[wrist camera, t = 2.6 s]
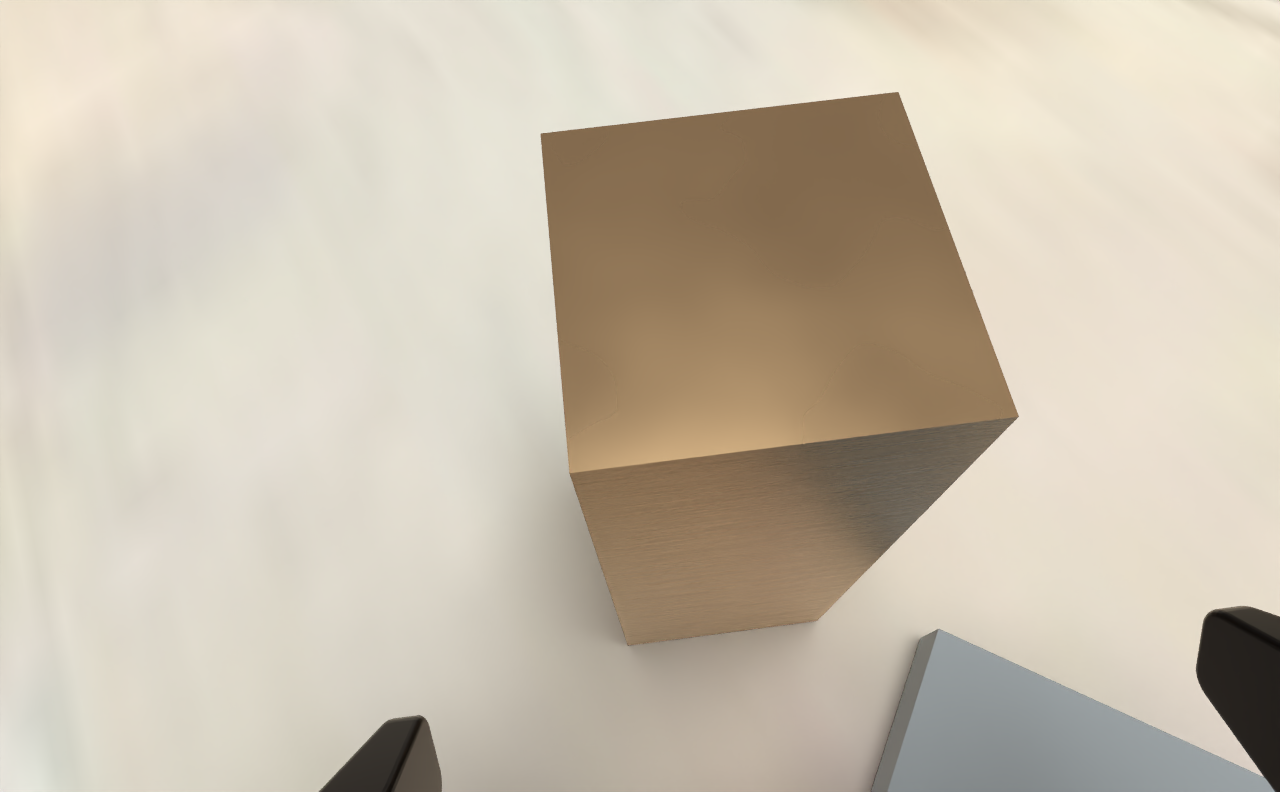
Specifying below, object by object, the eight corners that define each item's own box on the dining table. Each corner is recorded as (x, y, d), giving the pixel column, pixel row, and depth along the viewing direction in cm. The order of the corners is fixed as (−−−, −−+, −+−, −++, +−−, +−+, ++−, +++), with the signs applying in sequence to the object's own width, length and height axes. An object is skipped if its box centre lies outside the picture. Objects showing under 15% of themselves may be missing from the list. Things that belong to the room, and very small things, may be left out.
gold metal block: (817, 621, 20) (1018, 416, 9) (628, 645, 20) (569, 473, 8) (779, 445, 22) (898, 92, 11) (608, 467, 22) (541, 134, 11)
